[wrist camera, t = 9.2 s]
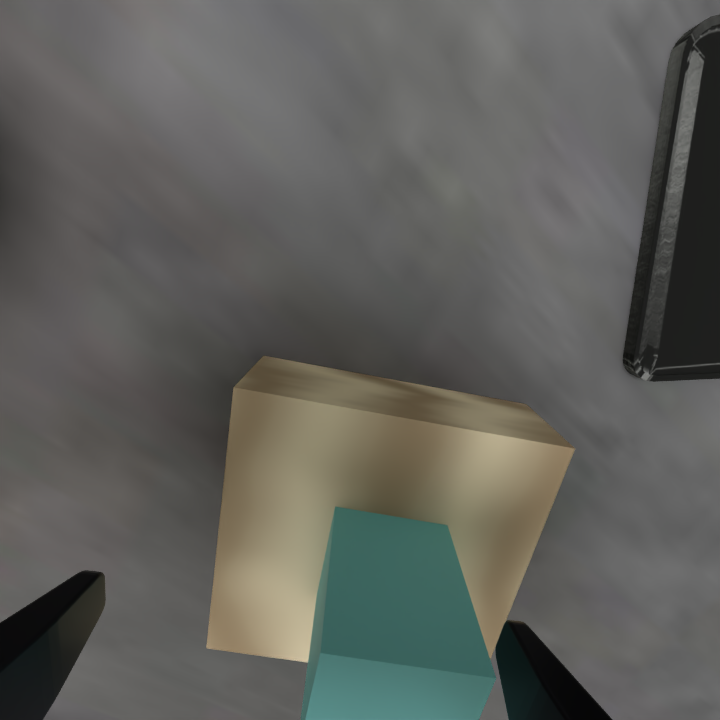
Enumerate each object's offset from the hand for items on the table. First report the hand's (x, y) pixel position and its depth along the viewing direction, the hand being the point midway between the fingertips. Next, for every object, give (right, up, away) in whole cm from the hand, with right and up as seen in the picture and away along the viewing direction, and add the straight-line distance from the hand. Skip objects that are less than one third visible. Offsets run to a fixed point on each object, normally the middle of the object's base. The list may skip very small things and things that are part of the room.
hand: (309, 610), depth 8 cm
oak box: (+2, -2, +13) cm, 13 cm away
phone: (+18, +12, +9) cm, 24 cm away
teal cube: (+2, -4, +8) cm, 9 cm away
